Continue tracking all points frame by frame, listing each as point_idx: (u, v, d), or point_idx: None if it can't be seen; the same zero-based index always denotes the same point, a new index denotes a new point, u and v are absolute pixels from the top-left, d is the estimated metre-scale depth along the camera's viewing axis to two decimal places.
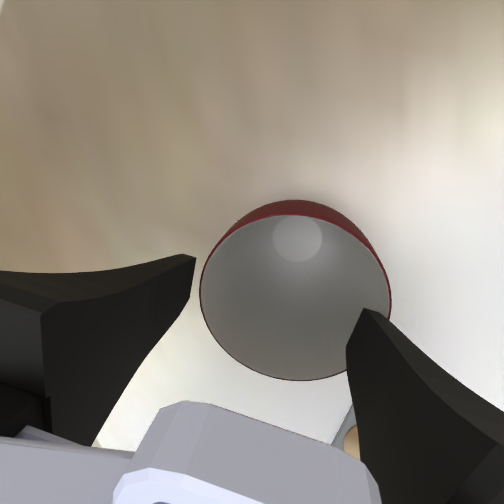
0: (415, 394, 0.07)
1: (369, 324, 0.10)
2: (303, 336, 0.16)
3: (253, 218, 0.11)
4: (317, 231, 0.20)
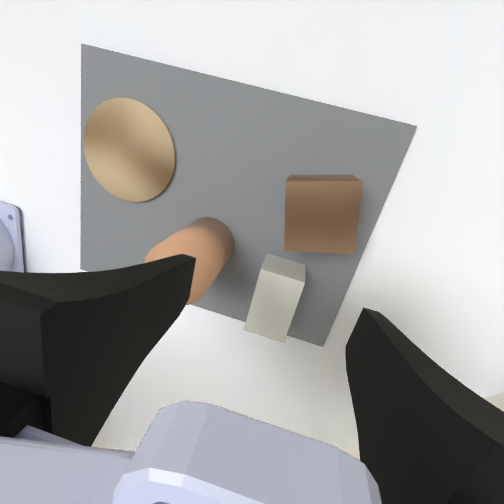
0: (415, 394, 0.07)
1: (369, 324, 0.10)
2: None
3: None
4: None
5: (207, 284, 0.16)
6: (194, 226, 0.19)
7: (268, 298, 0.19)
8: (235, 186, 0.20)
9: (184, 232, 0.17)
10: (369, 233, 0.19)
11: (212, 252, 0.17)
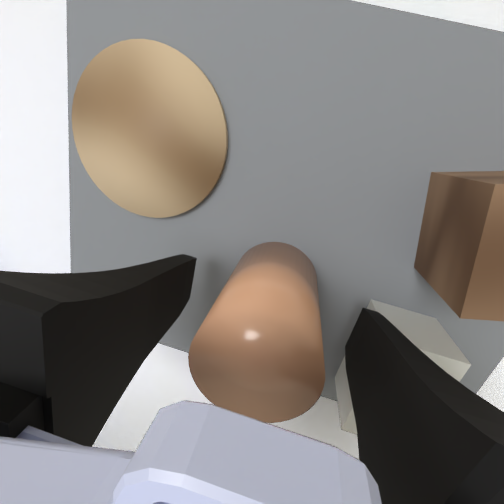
0: (414, 394, 0.07)
1: (368, 324, 0.10)
2: None
3: None
4: None
5: (319, 392, 0.08)
6: (268, 264, 0.11)
7: None
8: (328, 192, 0.12)
9: (260, 280, 0.09)
10: None
11: (316, 319, 0.09)
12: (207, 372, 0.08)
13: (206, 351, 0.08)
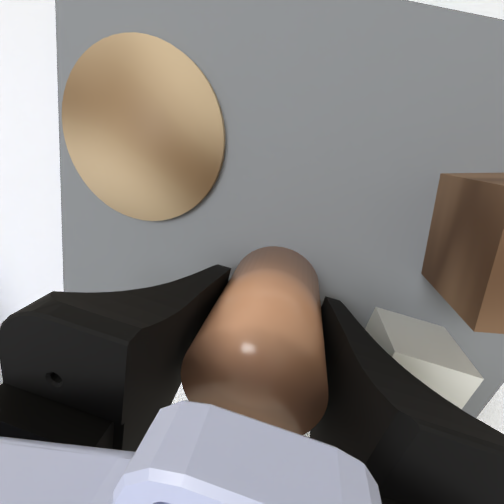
0: (351, 374, 0.07)
1: (327, 311, 0.10)
2: None
3: None
4: None
5: (322, 412, 0.07)
6: (267, 271, 0.10)
7: None
8: (331, 194, 0.11)
9: (259, 290, 0.09)
10: None
11: (319, 332, 0.08)
12: (201, 389, 0.08)
13: (200, 367, 0.08)
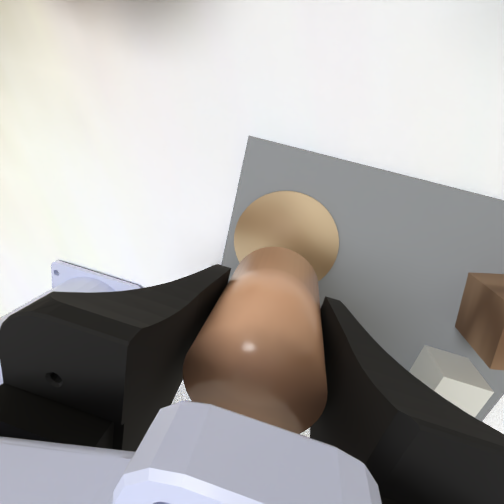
0: (351, 373, 0.07)
1: (327, 311, 0.10)
2: None
3: None
4: None
5: (322, 406, 0.07)
6: (264, 271, 0.10)
7: None
8: (401, 280, 0.19)
9: (255, 289, 0.09)
10: None
11: (316, 327, 0.08)
12: (203, 389, 0.08)
13: (201, 367, 0.08)
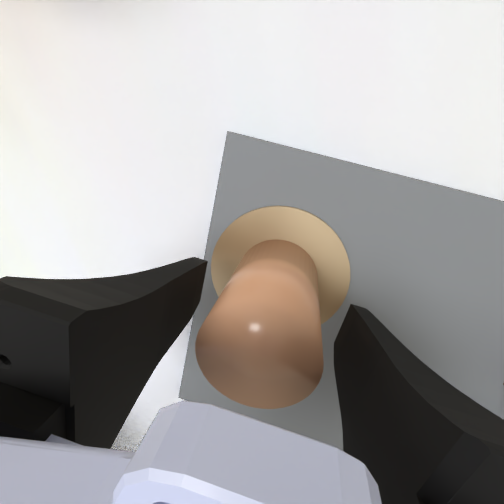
0: (394, 387, 0.07)
1: (355, 320, 0.10)
2: None
3: None
4: None
5: (319, 376, 0.08)
6: (267, 260, 0.11)
7: None
8: (433, 324, 0.14)
9: (259, 275, 0.10)
10: None
11: (314, 309, 0.09)
12: (213, 362, 0.09)
13: (211, 342, 0.09)
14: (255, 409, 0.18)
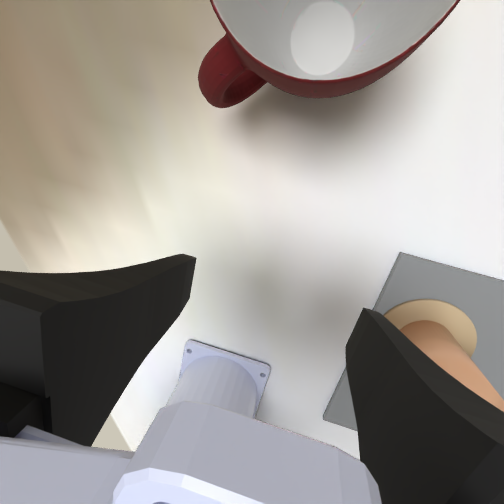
0: (415, 394, 0.07)
1: (369, 324, 0.10)
2: None
3: None
4: (348, 24, 0.16)
5: None
6: (442, 344, 0.18)
7: None
8: None
9: (452, 359, 0.17)
10: None
11: None
12: None
13: None
14: None
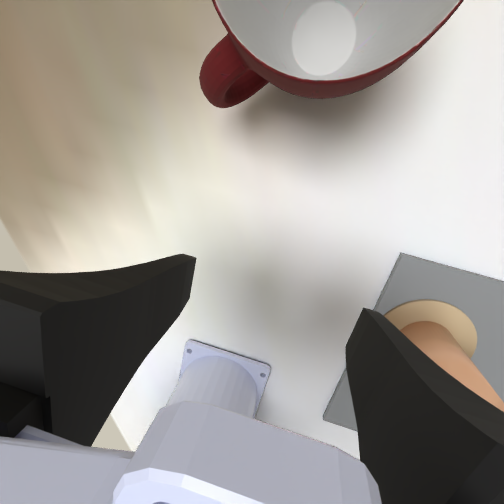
0: (415, 394, 0.07)
1: (369, 324, 0.10)
2: None
3: None
4: (350, 24, 0.16)
5: None
6: (443, 345, 0.18)
7: None
8: None
9: (452, 361, 0.17)
10: None
11: None
12: None
13: None
14: None
